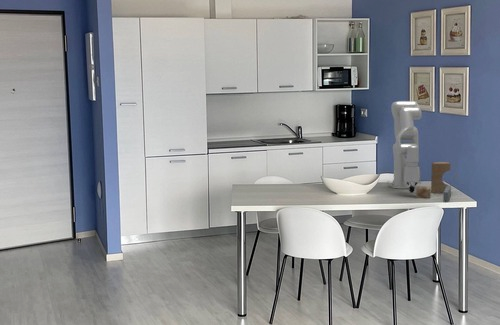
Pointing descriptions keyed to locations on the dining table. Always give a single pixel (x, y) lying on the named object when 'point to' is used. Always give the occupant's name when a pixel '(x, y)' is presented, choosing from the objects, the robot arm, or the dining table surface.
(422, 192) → the walnut block
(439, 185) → the decorative block
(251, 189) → the dining table surface
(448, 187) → the charcoal board
